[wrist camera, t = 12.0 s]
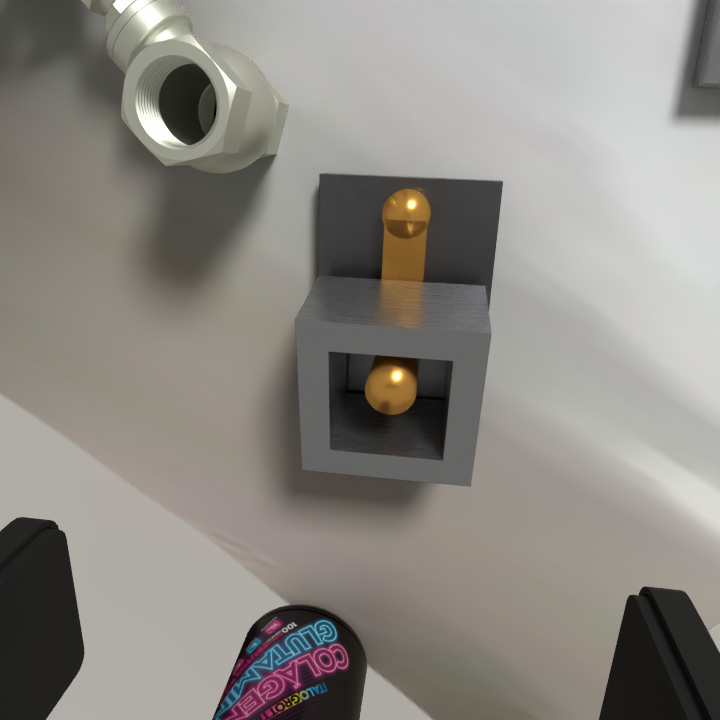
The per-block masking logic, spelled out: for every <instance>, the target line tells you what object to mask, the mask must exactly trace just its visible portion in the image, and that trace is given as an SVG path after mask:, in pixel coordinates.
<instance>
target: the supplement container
mask: <svg viewBox="0 0 720 720" xmlns="http://www.w3.org/2000/svg"><path fill="white" fill-rule="evenodd" d="M366 671H367V659H366V655H365V651H364V648H363V645H362V643H361V641H360V639H359V637H358V636H357V634H356V633H355V631H354V630H353V629H352V628H351V627H350V626H349V625H348V624H347V623H346V622H345V621H344V620H342V619H341V618H340V617H338V616H337V615H335V614H333V613H331V612H329V611H327V610H325V609H322V608H319V607H315V606H310V605H288V606H283V607H279V608H277V609H274V610H272V611H270V612H268V613H266V614H265V615H263V616H262V617H261V618H260V619H259V620H258V621H256V622H255V623H254V624H253V626H252V627H251V628H250V630H249V632H248V633H247V636H246V638H245V641H244V643H243V646H242V648H241V651H240V653H239V656H238V658H237V660H236V663H235V665H234V668H233V670H232V673H231V675H230V677H229V680H228V682H227V685H226V687H225V690H224V692H223V695H222V697H221V699H220V702H219V704H218V707H217V709H216V712H215V714H214V717H213V719H212V720H359V719H360V712H361V705H362V698H363V691H364V685H365V678H366Z"/></svg>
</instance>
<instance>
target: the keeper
mask: <svg viewBox="0 0 720 720" xmlns="http://www.w3.org/2000/svg"><path fill="white" fill-rule="evenodd" d="M502 186H503V181H494V180H470V179H447V178H423V177H399V176H375V175H352V174H328V173H323V174H320V183H319V255H318V276H333V277H349V278H366V279H382V280H398V281H414V282H430V283H446V284H463V285H479V286H485V288H486V295H487V303H488V311H489V304H490V295H491V286H492V277H493V268H494V259H495V250H496V241H497V231H498V222H499V213H500V204H501V195H502ZM447 369H448V360H434V359H421V358H408V357H395V356H382V355H369V354H356V353H346V393H358V394H365V395H366V398H367V400H368V402H369V404H370V405H371V406H372V407H373V408H374V409H375V410H377V411H379V412H381V413H384V414H389V415H394V414H399V413H402V412H404V411H406V410H407V409H408V408H409V407H410V406H411V405H412V404H413V402H414V400H415V398H418V399H430V400H442V401H444V400H445V390H446V379H447Z"/></svg>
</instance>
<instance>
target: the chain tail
mask: <svg viewBox="0 0 720 720" xmlns="http://www.w3.org/2000/svg"><path fill="white" fill-rule="evenodd" d="M692 87H711V88H720V0H709V5H708V10H707V15H706V20H705V25H704V30H703V35H702V40H701V45H700V50H699V55H698V60H697V65H696V70H695V75H694V80H693V85H692Z"/></svg>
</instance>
